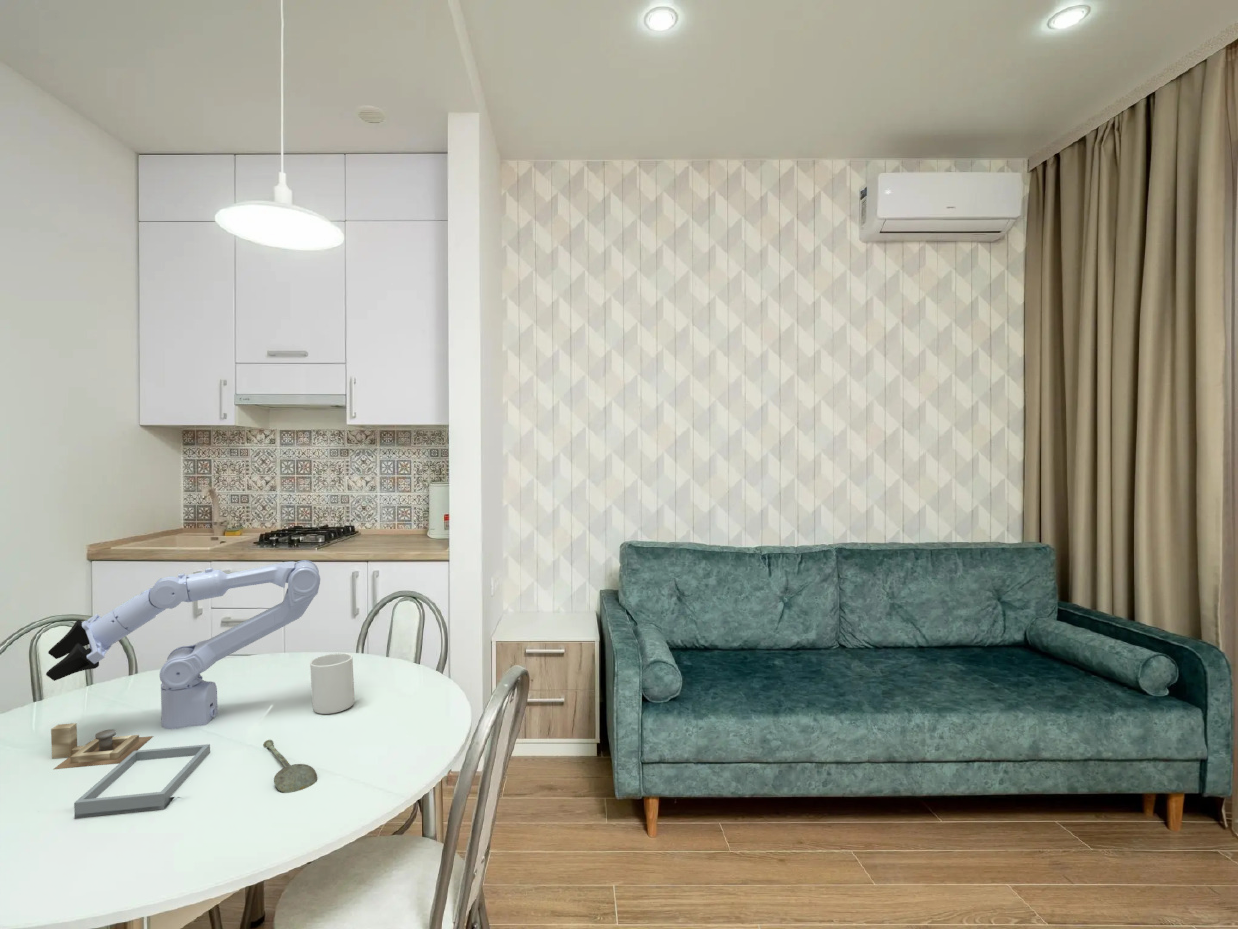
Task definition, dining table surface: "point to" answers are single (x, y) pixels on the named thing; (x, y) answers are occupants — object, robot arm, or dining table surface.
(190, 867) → the dining table surface
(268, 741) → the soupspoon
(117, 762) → the block
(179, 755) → the grey rectangular frame
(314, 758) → the dining table surface
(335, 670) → the mug
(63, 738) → the wooden knob frame
